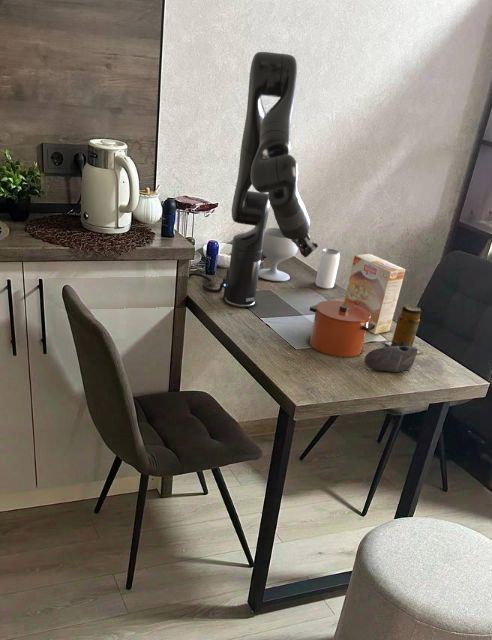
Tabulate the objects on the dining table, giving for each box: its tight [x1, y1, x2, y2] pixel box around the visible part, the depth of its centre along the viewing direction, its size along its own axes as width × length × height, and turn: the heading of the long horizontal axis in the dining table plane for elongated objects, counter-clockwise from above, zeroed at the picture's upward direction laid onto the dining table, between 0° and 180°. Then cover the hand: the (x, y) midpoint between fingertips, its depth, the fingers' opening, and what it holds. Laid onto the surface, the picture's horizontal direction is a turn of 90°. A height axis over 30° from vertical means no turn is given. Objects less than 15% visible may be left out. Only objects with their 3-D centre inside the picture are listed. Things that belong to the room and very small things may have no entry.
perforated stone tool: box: [364, 346, 418, 373], centre depth 195 cm, size 15×5×7 cm, turn 98°
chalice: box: [258, 227, 299, 282], centre depth 249 cm, size 14×14×15 cm
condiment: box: [384, 304, 422, 354], centre depth 209 cm, size 7×8×12 cm
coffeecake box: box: [343, 253, 406, 335], centre depth 220 cm, size 15×7×20 cm, turn 36°
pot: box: [309, 299, 375, 358], centre depth 204 cm, size 19×15×12 cm
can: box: [314, 248, 341, 290], centre depth 248 cm, size 6×6×12 cm
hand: (306, 253), depth 192 cm, fingers closed
